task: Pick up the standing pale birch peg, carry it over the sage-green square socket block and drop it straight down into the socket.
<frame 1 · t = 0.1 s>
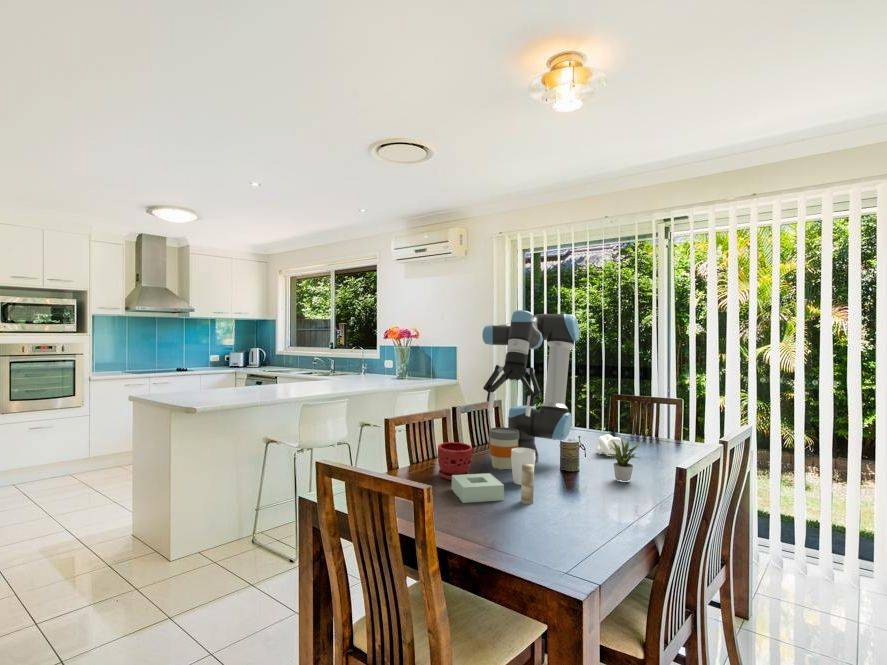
hand: (508, 413, 174), 28 cm above the table, tool tilted 20°, fingers open, 13 cm apart
crumpled white lump: (606, 455, 236), on the table
plant pot: (454, 477, 194), on the table
cup: (522, 483, 190), on the table
house plant: (624, 482, 194), on the table
socket block: (476, 494, 175), on the table
reusable coffee cup: (503, 467, 211), on the table
peg: (527, 502, 168), on the table
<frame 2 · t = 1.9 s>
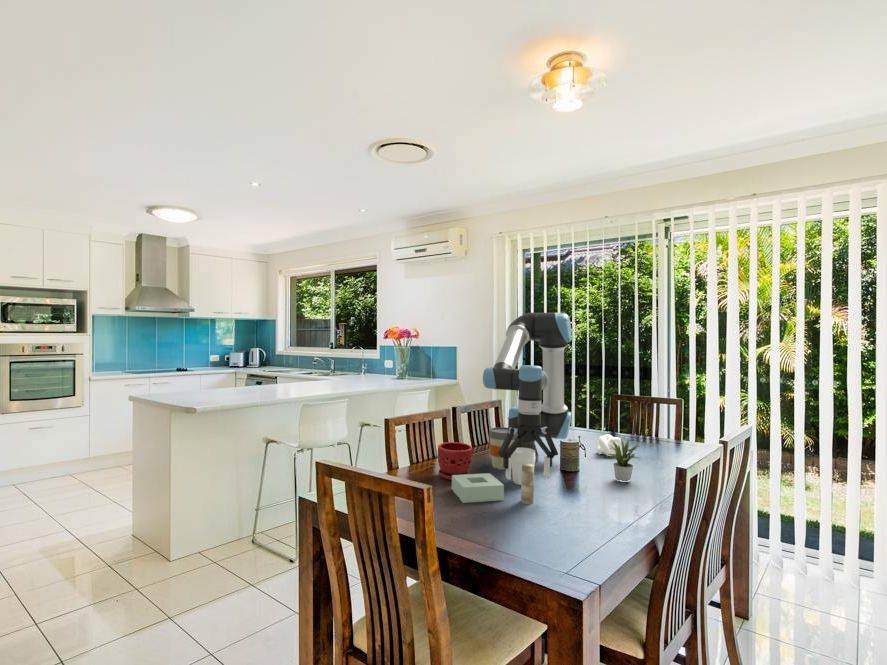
hand: (527, 477, 168), 8 cm above the table, tool pointing down, fingers open, 13 cm apart
nothing on the table moved.
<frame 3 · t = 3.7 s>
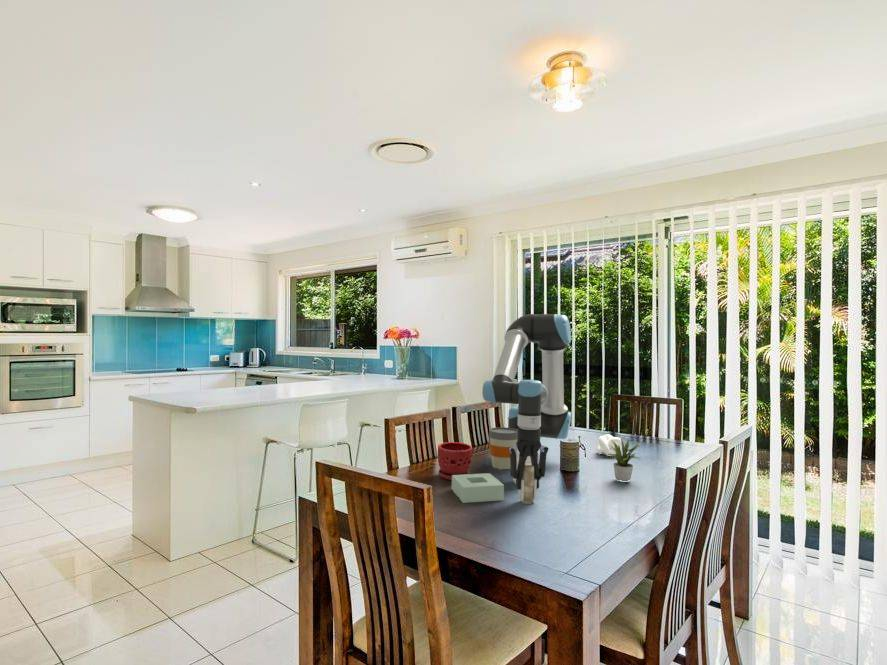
hand: (527, 498, 168), 1 cm above the table, tool pointing down, fingers closed on peg, 4 cm apart
peg: (527, 501, 168), on the table, touching gripper
everything else where it was.
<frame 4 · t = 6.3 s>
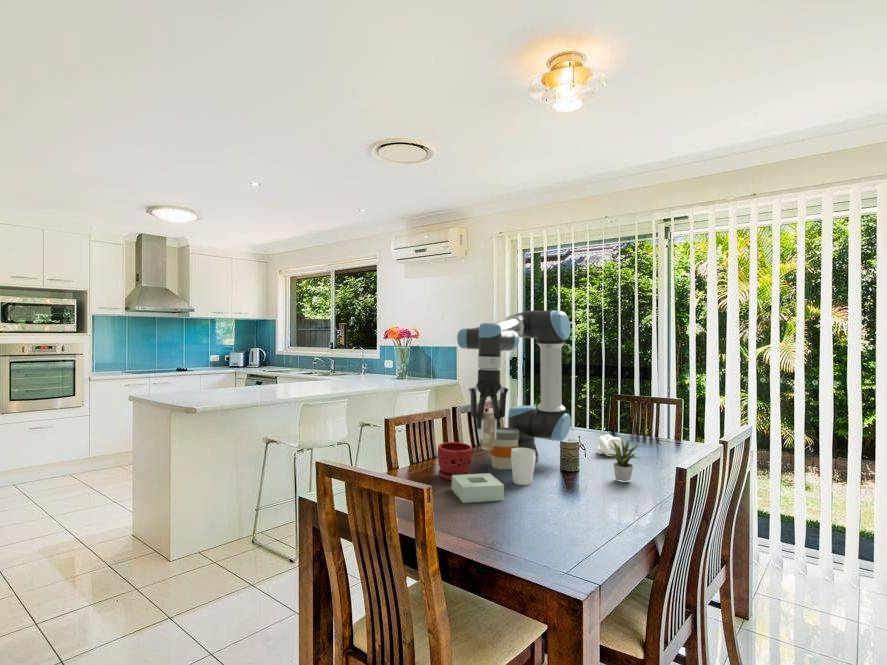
hand: (487, 438, 173), 20 cm above the table, tool pointing down, fingers closed on peg, 4 cm apart
peg: (487, 448, 173), point 16 cm above the table, touching gripper
everything else where it was.
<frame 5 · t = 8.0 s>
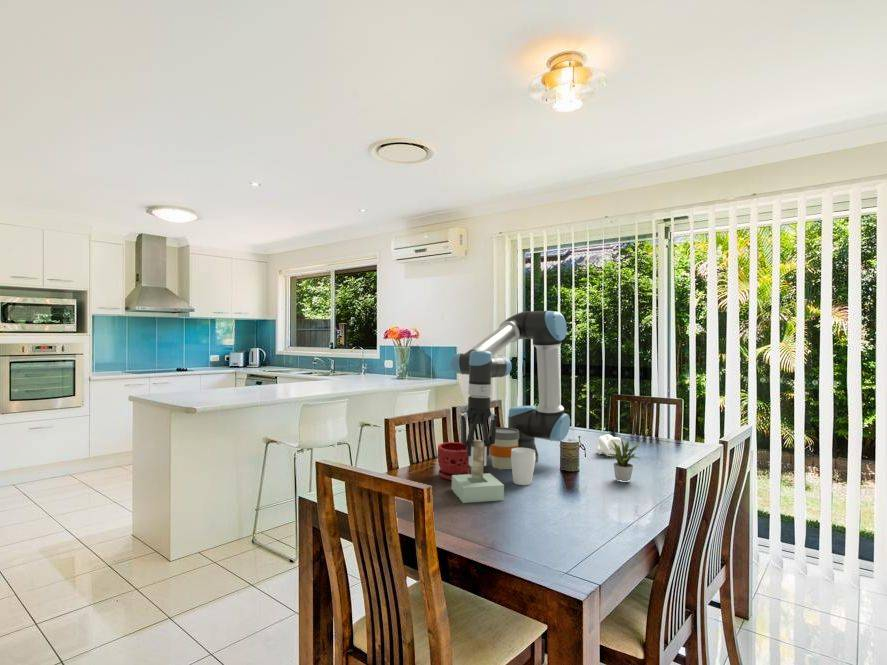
hand: (477, 464, 174), 10 cm above the table, tool pointing down, fingers closed on peg, 4 cm apart
peg: (477, 476, 174), point 6 cm above the table, touching gripper
everything else where it was.
when the fingers open (8 cm above the table, at t = 9.1 s): peg drops 4 cm, resting in socket block.
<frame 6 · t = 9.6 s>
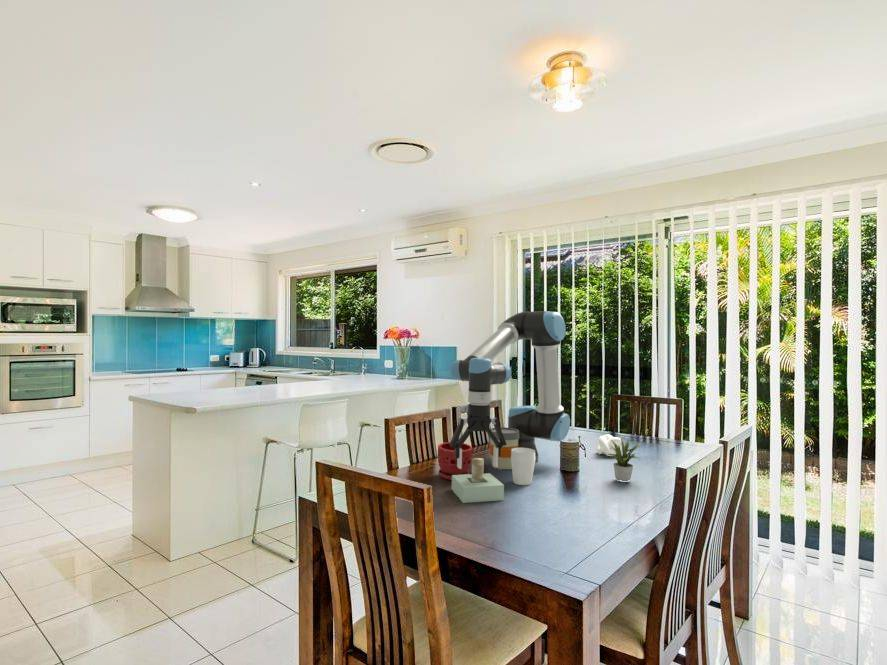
hand: (477, 467, 175), 9 cm above the table, tool pointing down, fingers open, 12 cm apart
peg: (477, 494, 175), resting in socket block
everything else where it was.
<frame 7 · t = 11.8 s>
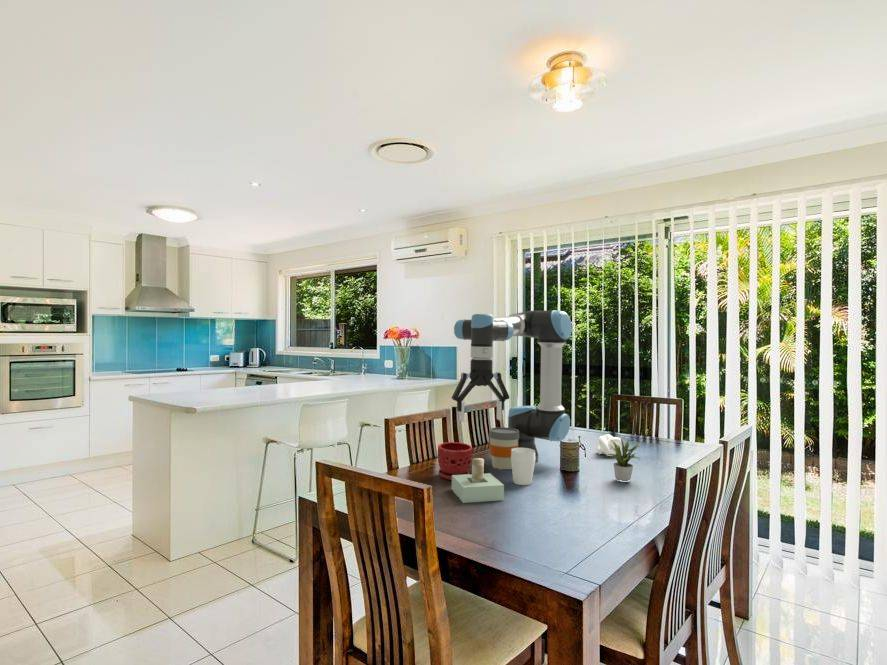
hand: (480, 420, 177), 25 cm above the table, tool pointing down, fingers open, 13 cm apart
nothing on the table moved.
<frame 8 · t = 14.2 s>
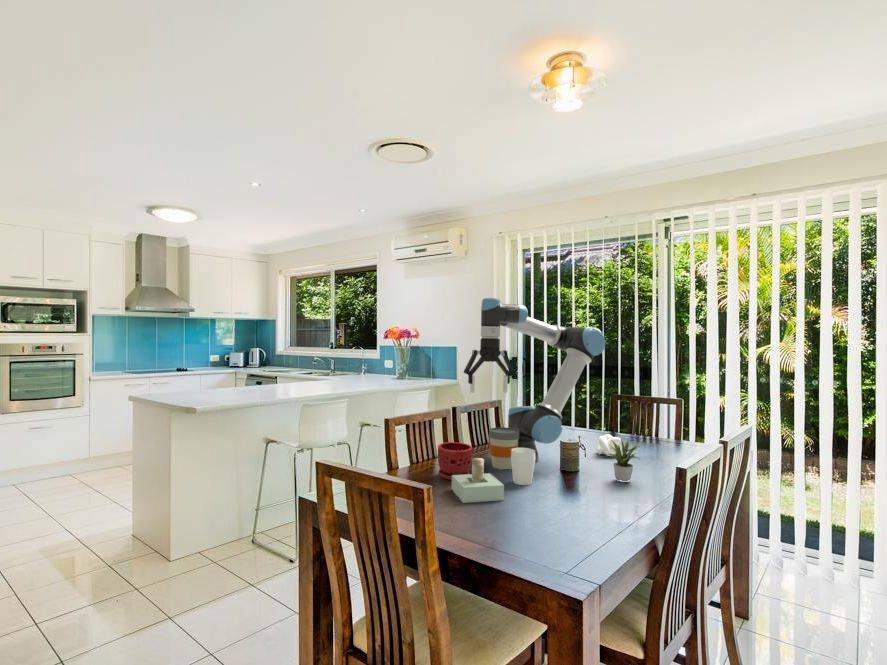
hand: (488, 392, 201), 32 cm above the table, tool pointing down, fingers open, 13 cm apart
nothing on the table moved.
at the end: peg 0.1 cm off-centre on the socket block, point 0.0 cm above the socket block's base; peg tilted 0°; the gripper is holding nothing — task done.
